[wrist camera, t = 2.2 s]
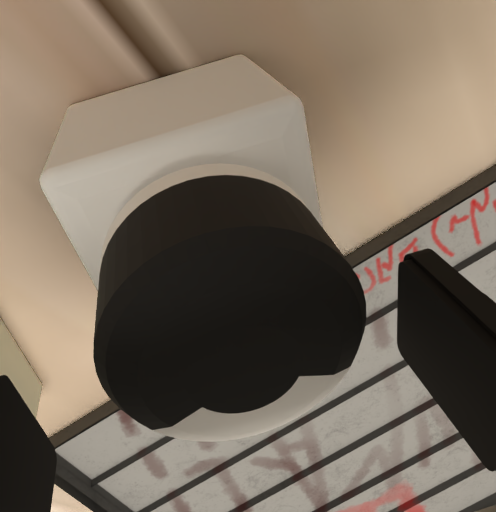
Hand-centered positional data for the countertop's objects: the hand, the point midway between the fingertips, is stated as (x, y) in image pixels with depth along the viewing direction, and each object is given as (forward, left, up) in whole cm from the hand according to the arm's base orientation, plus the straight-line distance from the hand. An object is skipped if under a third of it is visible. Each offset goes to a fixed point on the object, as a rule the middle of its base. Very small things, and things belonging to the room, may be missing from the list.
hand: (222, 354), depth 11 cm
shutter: (-9, +23, -11) cm, 27 cm away
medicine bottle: (0, -1, -11) cm, 11 cm away
